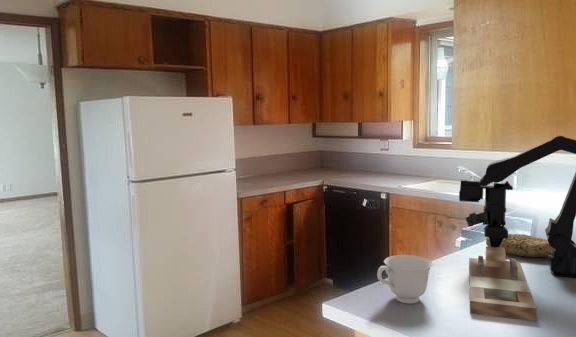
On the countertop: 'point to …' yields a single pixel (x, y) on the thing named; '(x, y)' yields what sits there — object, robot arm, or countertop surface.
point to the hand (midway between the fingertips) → (493, 253)
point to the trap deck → (500, 290)
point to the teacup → (406, 276)
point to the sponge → (525, 245)
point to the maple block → (495, 257)
